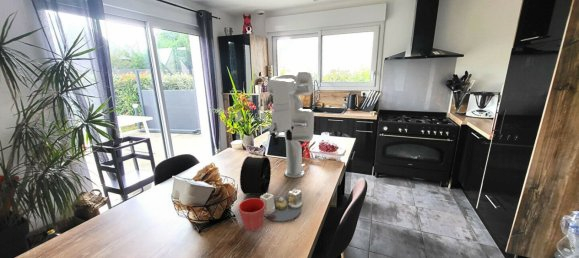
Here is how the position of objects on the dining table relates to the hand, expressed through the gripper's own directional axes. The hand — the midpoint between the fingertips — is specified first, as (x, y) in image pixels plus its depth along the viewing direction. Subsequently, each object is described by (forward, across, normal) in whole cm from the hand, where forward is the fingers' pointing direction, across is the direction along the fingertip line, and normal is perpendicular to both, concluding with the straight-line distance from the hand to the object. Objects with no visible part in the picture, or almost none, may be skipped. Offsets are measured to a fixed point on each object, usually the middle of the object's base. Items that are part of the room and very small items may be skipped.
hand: (282, 142), depth 109 cm
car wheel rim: (+31, +4, -16) cm, 35 cm away
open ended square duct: (+29, +14, +1) cm, 32 cm away
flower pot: (+31, +24, +3) cm, 39 cm away
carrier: (+30, +8, +5) cm, 32 cm away
